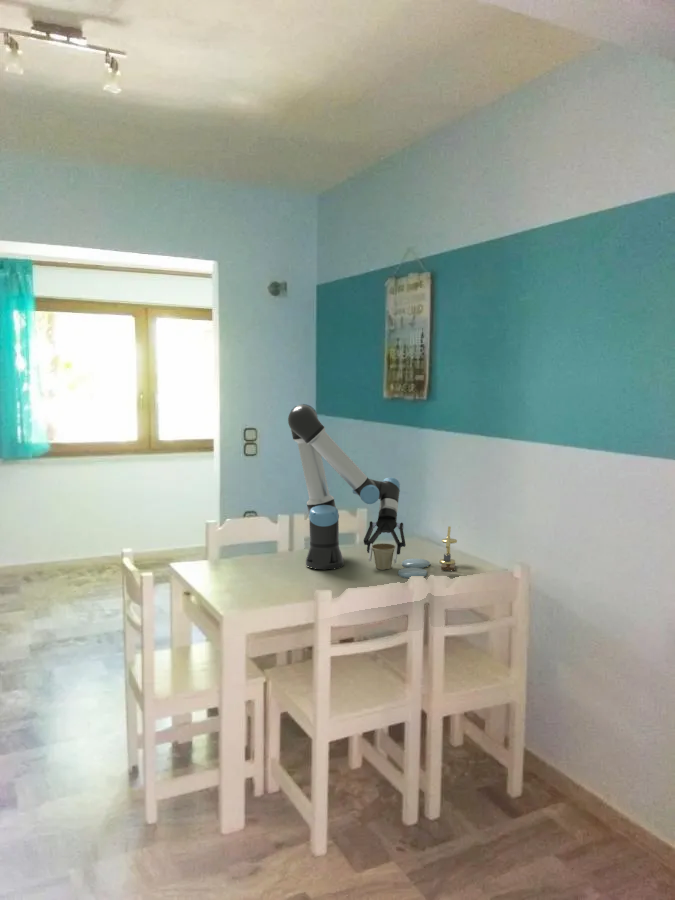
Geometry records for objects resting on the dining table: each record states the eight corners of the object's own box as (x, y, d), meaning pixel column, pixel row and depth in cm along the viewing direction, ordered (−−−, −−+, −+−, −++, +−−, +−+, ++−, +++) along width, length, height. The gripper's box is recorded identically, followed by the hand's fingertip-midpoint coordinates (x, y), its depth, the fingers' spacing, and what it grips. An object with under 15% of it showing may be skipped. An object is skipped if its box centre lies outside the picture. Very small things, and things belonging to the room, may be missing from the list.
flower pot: (396, 571, 270) (396, 549, 269) (372, 571, 270) (371, 549, 269) (394, 564, 279) (394, 543, 278) (371, 564, 279) (371, 543, 278)
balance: (438, 575, 263) (438, 537, 262) (442, 560, 284) (442, 524, 282) (454, 576, 262) (455, 537, 260) (457, 560, 283) (457, 525, 281)
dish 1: (396, 577, 261) (396, 575, 261) (399, 569, 272) (399, 567, 272) (425, 579, 259) (425, 576, 259) (428, 570, 270) (428, 568, 270)
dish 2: (400, 568, 274) (400, 565, 274) (403, 560, 285) (403, 558, 285) (428, 569, 272) (428, 566, 272) (430, 561, 282) (430, 559, 282)
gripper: (415, 518, 285) (411, 566, 272) (362, 516, 290) (356, 563, 276) (414, 507, 279) (409, 556, 266) (360, 506, 284) (353, 554, 270)
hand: (382, 560), depth 271 cm, fingers closed on flower pot, 9 cm apart
